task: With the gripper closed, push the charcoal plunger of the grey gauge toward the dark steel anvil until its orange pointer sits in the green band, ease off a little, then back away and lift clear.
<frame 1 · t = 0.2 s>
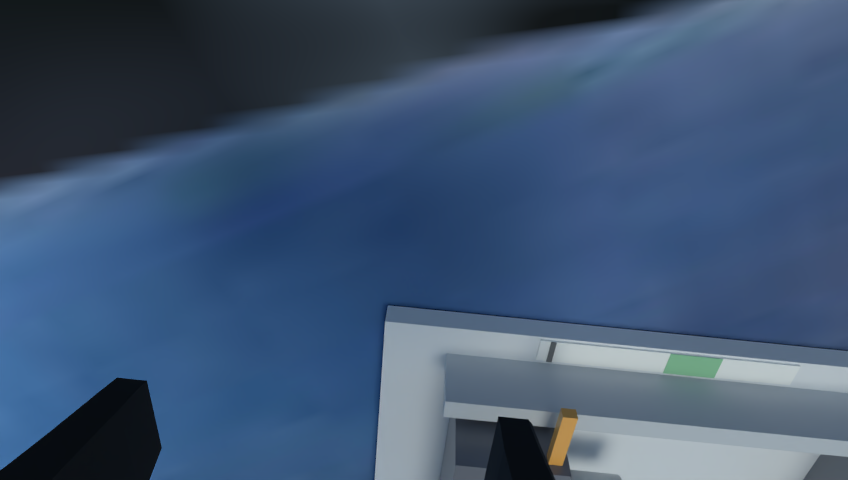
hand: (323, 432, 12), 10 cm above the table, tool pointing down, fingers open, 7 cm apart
gauge frame: (622, 433, 26), on the table
plunger: (537, 468, 22), point 3 cm above the table, slide at 0.0 cm
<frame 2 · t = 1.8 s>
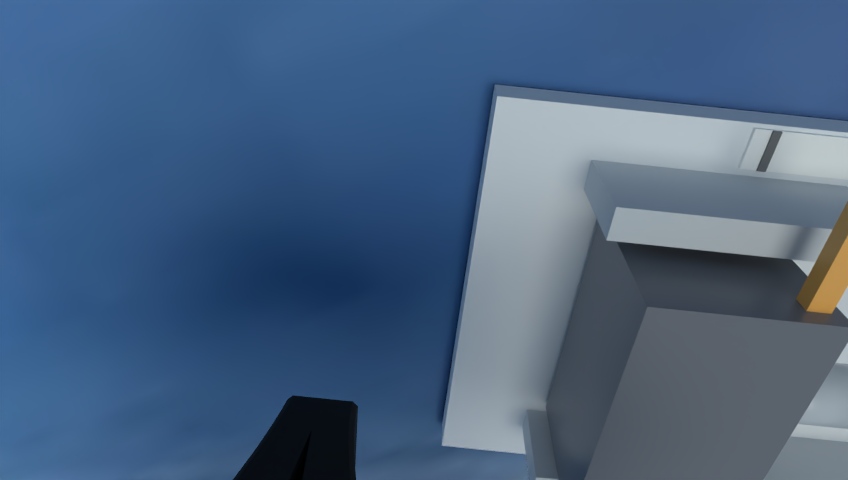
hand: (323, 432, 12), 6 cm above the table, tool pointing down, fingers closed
gauge frame: (828, 321, 17), on the table
plunger: (740, 347, 14), point 3 cm above the table, slide at 0.0 cm
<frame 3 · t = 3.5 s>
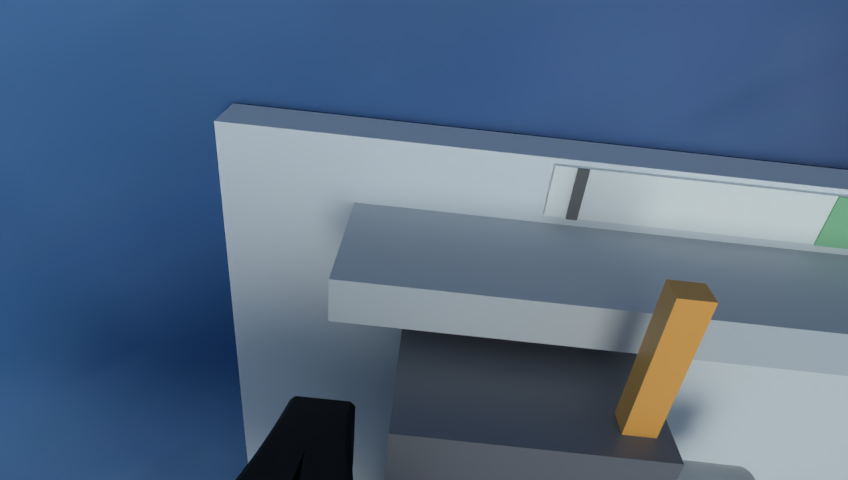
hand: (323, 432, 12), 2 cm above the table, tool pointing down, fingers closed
gauge frame: (699, 390, 14), on the table
plunger: (579, 450, 11), point 3 cm above the table, slide at 0.7 cm, touching gripper
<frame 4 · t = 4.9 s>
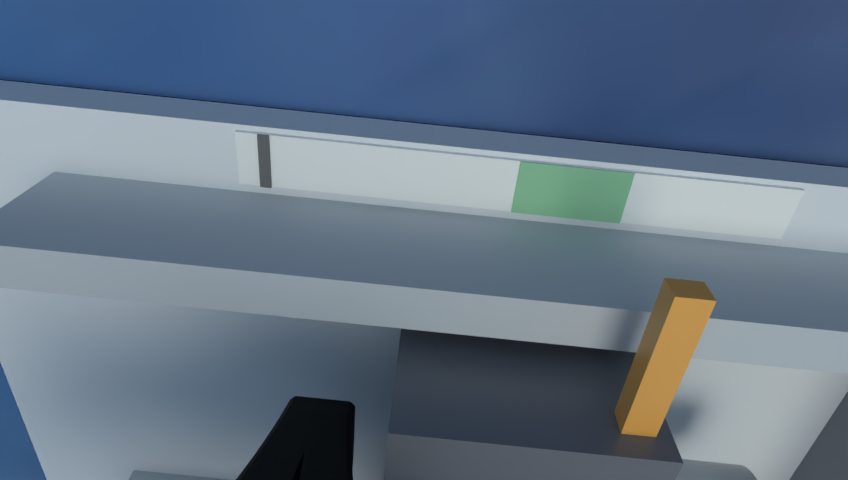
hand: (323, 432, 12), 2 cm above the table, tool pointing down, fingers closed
gauge frame: (473, 366, 14), on the table
plunger: (579, 449, 11), point 3 cm above the table, slide at 6.2 cm, touching gripper
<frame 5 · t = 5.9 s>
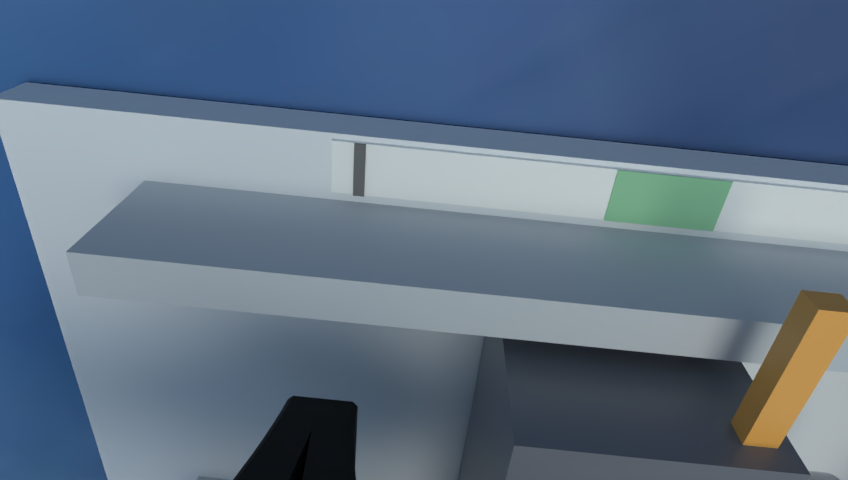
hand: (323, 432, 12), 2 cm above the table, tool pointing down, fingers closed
gauge frame: (543, 372, 14), on the table
plunger: (671, 458, 11), point 3 cm above the table, slide at 6.2 cm
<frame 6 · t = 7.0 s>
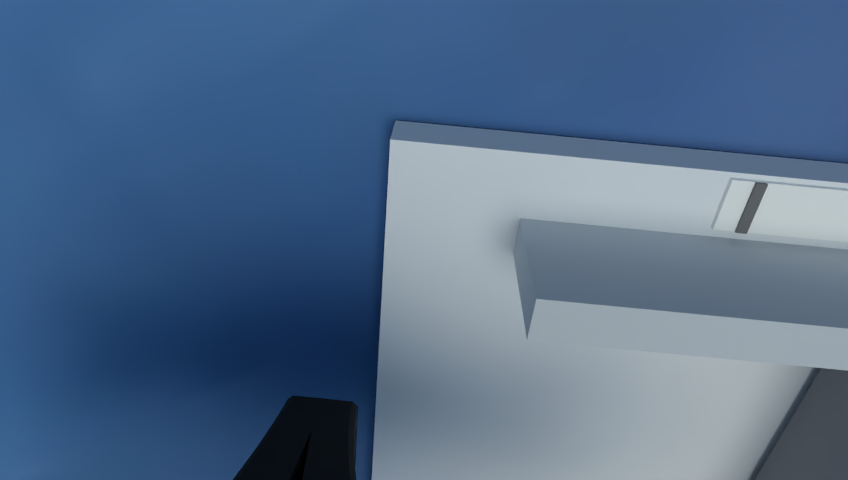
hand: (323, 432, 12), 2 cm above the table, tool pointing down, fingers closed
gauge frame: (830, 399, 14), on the table
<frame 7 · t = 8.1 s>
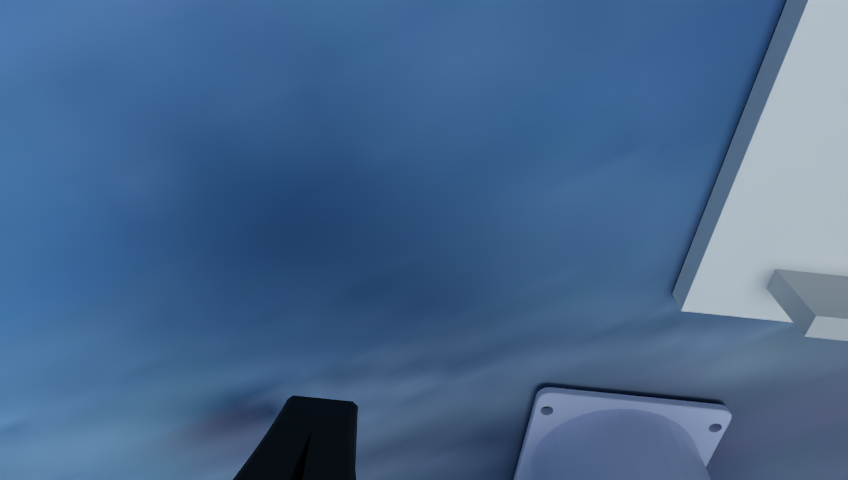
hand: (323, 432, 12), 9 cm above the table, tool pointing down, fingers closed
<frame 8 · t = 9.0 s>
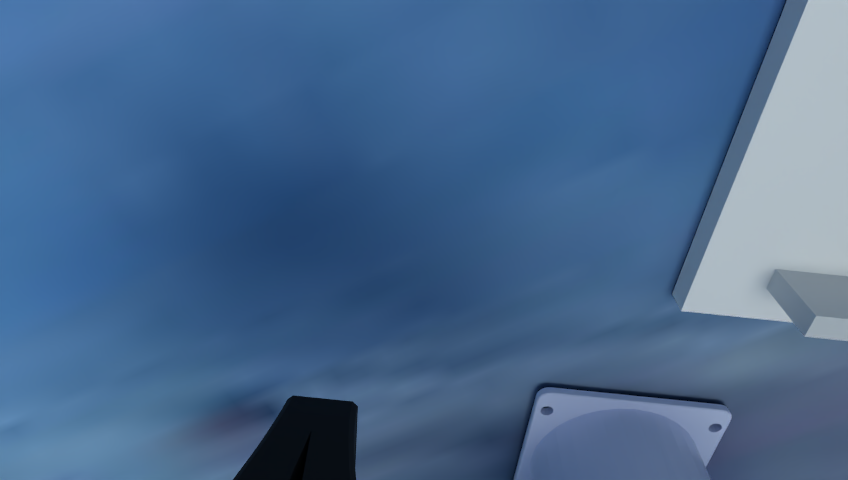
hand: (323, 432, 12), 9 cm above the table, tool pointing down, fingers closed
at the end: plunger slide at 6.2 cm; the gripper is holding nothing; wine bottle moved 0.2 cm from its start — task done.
